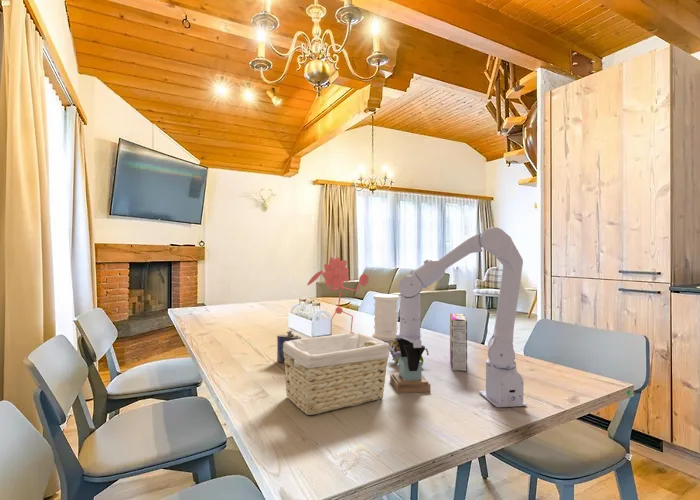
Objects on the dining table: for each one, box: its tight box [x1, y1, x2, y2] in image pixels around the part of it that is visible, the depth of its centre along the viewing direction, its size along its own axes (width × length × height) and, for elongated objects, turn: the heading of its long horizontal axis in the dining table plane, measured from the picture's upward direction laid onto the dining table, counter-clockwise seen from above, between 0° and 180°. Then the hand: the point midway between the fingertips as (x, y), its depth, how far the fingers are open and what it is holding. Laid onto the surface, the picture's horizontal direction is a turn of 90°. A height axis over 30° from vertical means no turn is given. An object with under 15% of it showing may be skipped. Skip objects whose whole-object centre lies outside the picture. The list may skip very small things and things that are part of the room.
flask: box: [276, 330, 302, 364], centre depth 127 cm, size 9×3×11 cm, turn 65°
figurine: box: [306, 256, 370, 336], centre depth 147 cm, size 15×26×35 cm, turn 127°
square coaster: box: [389, 372, 431, 394], centre depth 106 cm, size 9×9×2 cm
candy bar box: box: [449, 312, 468, 372], centre depth 125 cm, size 11×5×16 cm, turn 168°
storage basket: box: [283, 332, 390, 416], centre depth 98 cm, size 24×16×15 cm
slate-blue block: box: [398, 357, 423, 381], centre depth 106 cm, size 5×5×5 cm
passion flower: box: [389, 338, 430, 366], centre depth 127 cm, size 11×11×12 cm
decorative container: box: [371, 293, 400, 342], centre depth 164 cm, size 12×12×18 cm
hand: (409, 366), depth 106 cm, fingers open, 6 cm apart
